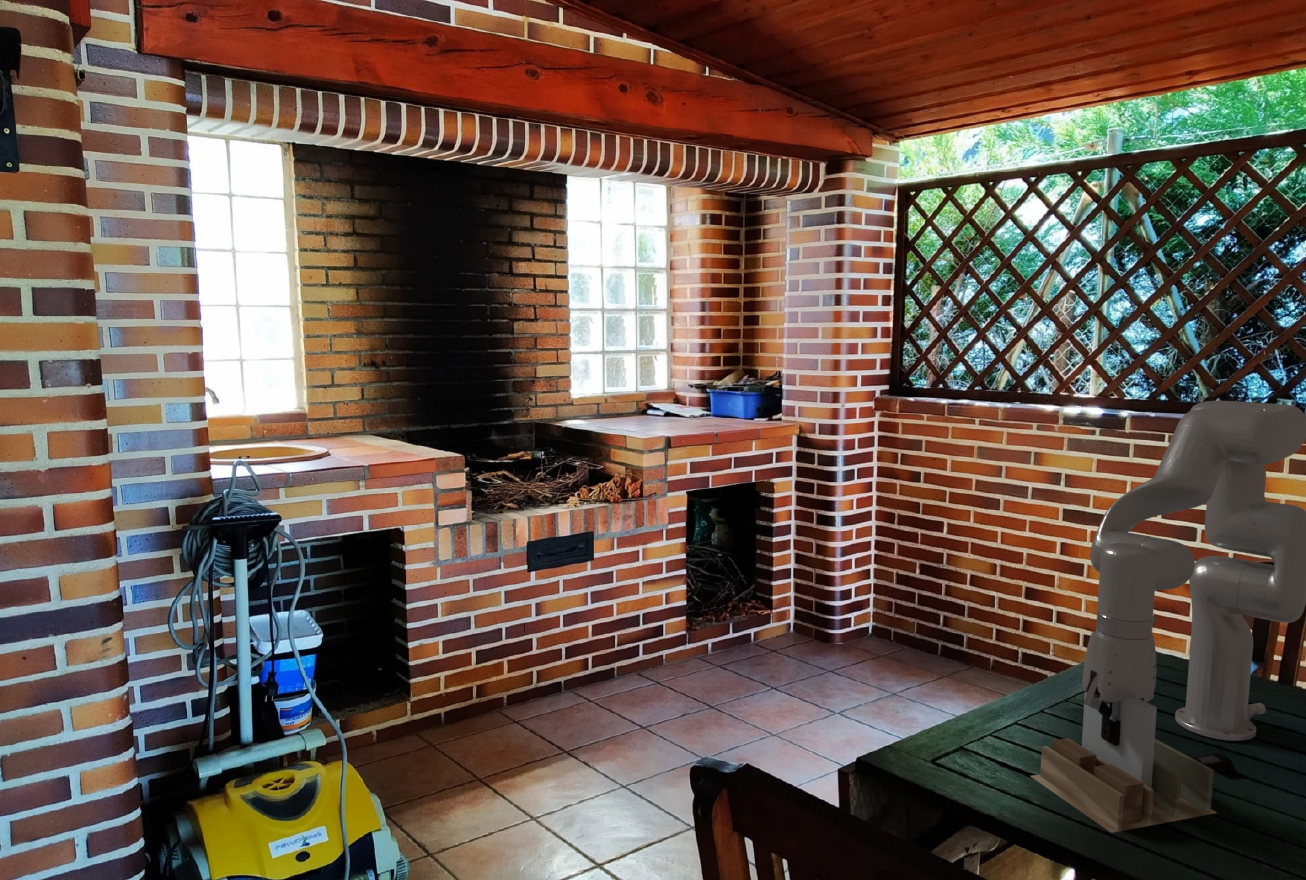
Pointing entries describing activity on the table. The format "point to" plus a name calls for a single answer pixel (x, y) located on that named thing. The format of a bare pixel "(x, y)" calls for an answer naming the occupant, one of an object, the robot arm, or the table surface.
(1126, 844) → the table surface
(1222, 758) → the electric trimmer
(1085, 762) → the offcut
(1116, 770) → the offcut
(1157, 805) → the rack
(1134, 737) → the sheet
